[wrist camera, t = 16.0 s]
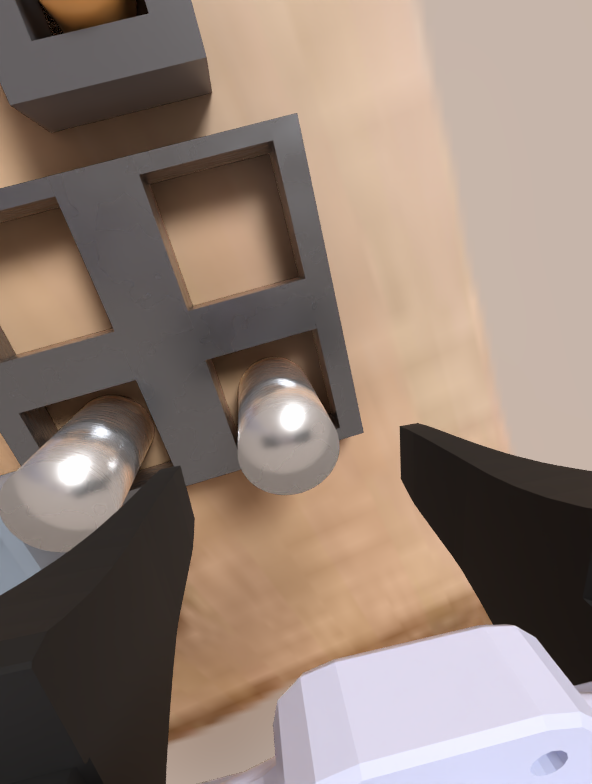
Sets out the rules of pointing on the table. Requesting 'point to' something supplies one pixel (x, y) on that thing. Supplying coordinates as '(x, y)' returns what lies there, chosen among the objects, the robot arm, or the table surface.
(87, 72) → the button housing
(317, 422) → the billet
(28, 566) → the tote
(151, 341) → the frame
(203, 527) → the table surface
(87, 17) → the button
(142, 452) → the cylinder
